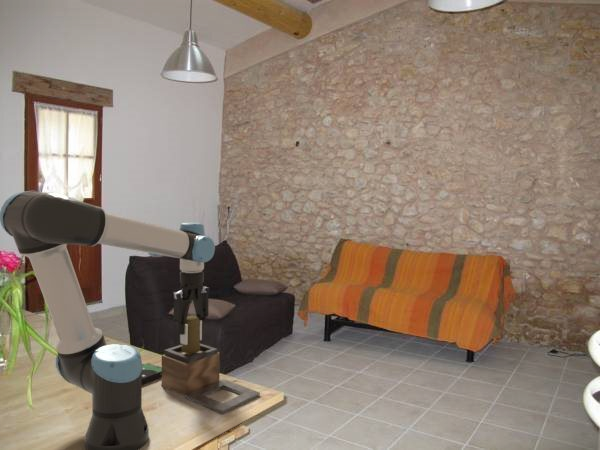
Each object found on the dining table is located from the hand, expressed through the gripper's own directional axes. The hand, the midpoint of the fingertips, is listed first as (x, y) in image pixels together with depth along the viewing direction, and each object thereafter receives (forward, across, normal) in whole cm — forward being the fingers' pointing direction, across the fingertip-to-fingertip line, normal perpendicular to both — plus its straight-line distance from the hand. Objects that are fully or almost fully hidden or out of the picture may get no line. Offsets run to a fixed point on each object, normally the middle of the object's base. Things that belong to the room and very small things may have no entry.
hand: (191, 341), depth 159 cm
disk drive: (+15, -8, +16) cm, 23 cm away
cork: (+3, 0, 0) cm, 3 cm away
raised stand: (+14, 0, 0) cm, 14 cm away
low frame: (+14, 0, -15) cm, 21 cm away
